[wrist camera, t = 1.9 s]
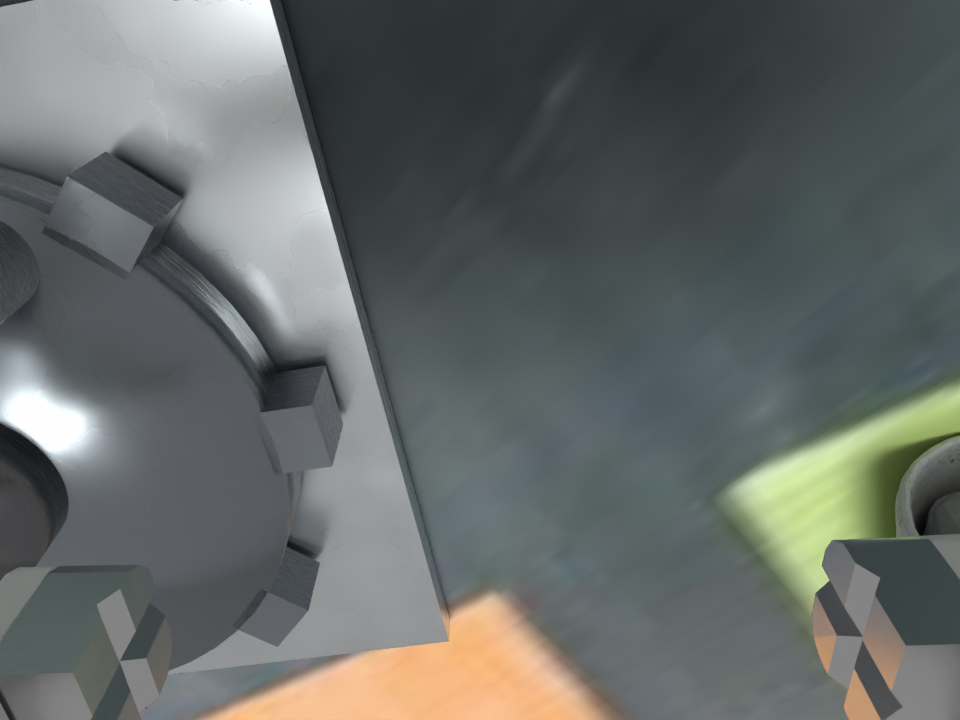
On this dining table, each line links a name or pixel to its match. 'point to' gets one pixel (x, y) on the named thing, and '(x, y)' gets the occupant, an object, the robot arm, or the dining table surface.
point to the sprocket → (147, 413)
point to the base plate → (242, 263)
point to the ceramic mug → (931, 493)
